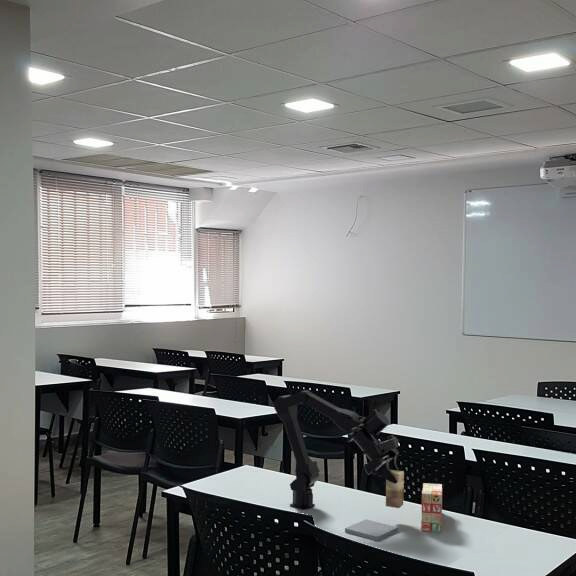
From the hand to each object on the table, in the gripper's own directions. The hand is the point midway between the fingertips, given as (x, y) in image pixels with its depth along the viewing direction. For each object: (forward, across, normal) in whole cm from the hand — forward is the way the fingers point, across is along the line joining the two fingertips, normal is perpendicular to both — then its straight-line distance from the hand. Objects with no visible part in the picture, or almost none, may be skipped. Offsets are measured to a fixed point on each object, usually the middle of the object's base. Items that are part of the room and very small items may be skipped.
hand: (398, 481), depth 236 cm
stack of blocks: (+16, +6, +3) cm, 18 cm away
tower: (+5, 0, +7) cm, 8 cm away
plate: (+6, -13, +13) cm, 19 cm away
